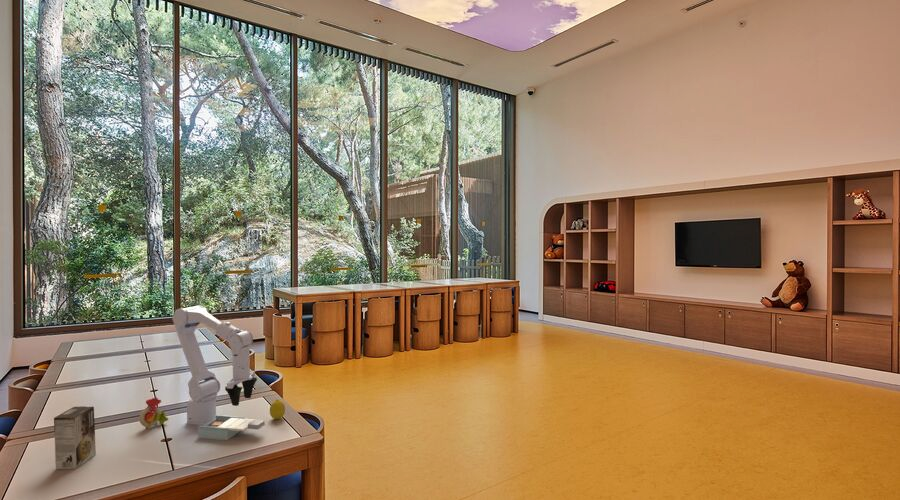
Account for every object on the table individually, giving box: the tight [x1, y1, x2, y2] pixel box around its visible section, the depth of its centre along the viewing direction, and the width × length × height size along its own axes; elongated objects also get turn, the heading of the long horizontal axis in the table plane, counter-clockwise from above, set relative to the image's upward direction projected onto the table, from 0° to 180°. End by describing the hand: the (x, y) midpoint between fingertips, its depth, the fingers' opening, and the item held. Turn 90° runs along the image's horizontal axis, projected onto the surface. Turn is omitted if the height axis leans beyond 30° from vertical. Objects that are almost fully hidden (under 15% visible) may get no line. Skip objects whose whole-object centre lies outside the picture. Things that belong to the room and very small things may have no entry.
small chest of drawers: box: [218, 418, 266, 432], centre depth 168 cm, size 14×8×2 cm, turn 81°
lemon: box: [269, 399, 286, 420], centre depth 182 cm, size 6×6×8 cm
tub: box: [197, 414, 245, 441], centre depth 169 cm, size 11×10×5 cm
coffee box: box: [53, 406, 97, 470], centre depth 148 cm, size 9×6×16 cm
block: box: [211, 422, 223, 427], centre depth 172 cm, size 3×3×2 cm
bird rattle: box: [138, 396, 169, 430], centre depth 175 cm, size 6×11×9 cm
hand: (241, 401), depth 174 cm, fingers open, 7 cm apart
